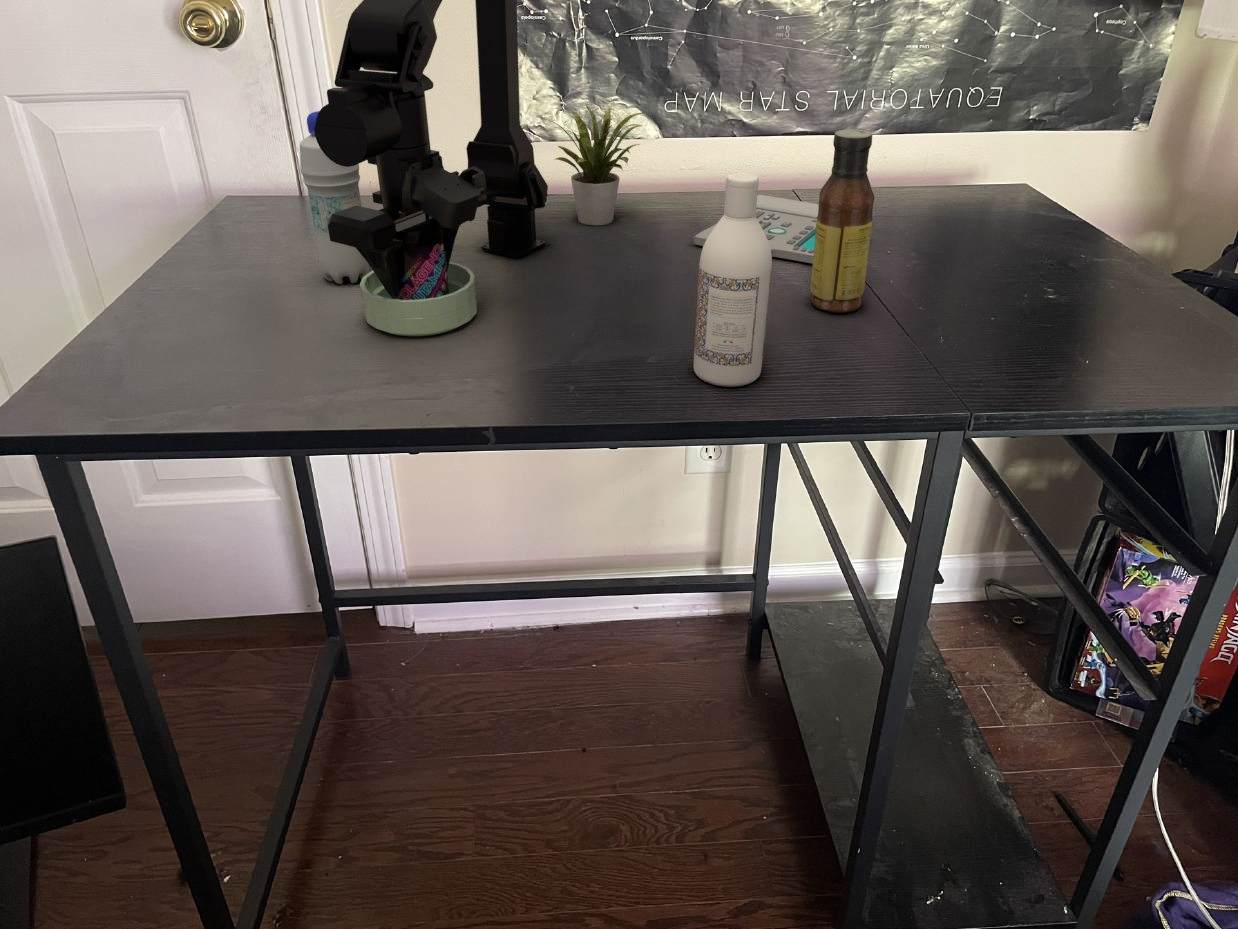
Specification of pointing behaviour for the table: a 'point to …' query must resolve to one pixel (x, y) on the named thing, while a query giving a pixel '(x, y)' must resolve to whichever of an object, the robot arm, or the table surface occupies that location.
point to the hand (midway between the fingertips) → (418, 284)
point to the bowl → (421, 306)
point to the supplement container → (421, 259)
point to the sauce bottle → (843, 226)
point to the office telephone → (783, 227)
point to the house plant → (596, 169)
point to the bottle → (330, 207)
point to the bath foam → (733, 291)
